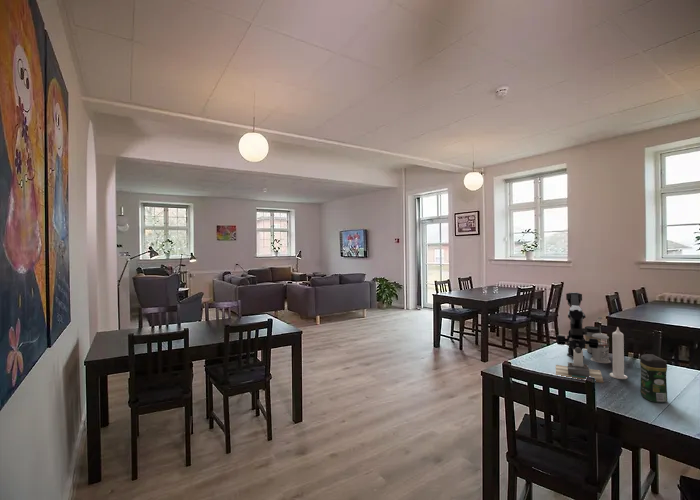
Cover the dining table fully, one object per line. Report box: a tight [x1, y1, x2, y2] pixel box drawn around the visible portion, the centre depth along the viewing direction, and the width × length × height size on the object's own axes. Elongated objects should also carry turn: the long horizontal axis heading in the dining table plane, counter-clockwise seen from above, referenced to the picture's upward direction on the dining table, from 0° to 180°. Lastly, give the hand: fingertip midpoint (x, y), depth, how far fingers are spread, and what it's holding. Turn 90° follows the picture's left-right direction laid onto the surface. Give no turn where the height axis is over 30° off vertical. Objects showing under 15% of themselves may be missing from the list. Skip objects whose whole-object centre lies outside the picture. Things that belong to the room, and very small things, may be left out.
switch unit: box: [555, 361, 604, 384], centre depth 186 cm, size 16×20×5 cm
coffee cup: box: [584, 325, 603, 354], centre depth 221 cm, size 9×9×15 cm
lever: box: [572, 347, 584, 367], centre depth 184 cm, size 3×4×11 cm
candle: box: [609, 326, 628, 380], centre depth 182 cm, size 7×7×25 cm
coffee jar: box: [639, 353, 668, 404], centre depth 156 cm, size 10×8×19 cm
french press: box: [590, 316, 612, 364], centre depth 206 cm, size 10×12×25 cm
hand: (577, 356), depth 189 cm, fingers closed
